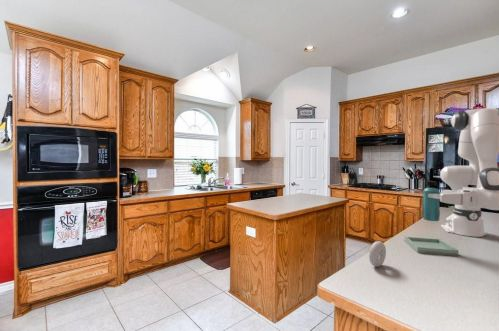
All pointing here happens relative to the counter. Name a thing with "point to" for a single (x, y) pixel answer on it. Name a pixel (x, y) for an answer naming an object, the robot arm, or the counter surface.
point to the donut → (377, 253)
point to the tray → (430, 246)
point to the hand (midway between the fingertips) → (429, 194)
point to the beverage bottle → (431, 203)
